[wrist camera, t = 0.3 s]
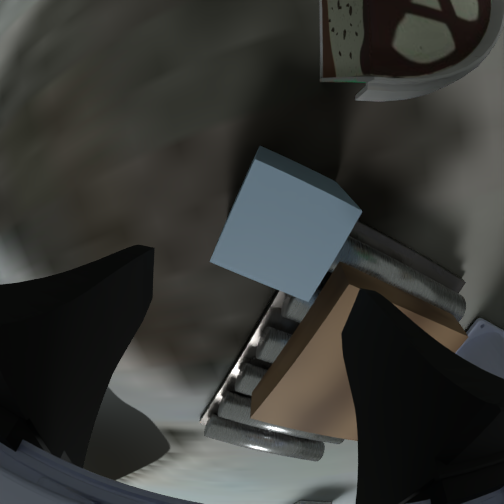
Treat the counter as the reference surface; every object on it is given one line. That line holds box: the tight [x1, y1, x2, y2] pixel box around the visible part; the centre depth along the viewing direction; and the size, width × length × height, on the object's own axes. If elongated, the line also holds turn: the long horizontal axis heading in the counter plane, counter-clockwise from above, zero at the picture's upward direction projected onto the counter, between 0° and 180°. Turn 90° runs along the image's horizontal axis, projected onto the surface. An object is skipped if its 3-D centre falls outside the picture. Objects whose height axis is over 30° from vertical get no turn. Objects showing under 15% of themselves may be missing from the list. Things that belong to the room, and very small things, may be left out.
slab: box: [250, 261, 468, 441], centre depth 19 cm, size 10×12×2 cm
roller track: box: [199, 220, 466, 461], centre depth 23 cm, size 13×24×3 cm, turn 156°
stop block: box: [210, 146, 362, 302], centre depth 16 cm, size 5×5×6 cm
